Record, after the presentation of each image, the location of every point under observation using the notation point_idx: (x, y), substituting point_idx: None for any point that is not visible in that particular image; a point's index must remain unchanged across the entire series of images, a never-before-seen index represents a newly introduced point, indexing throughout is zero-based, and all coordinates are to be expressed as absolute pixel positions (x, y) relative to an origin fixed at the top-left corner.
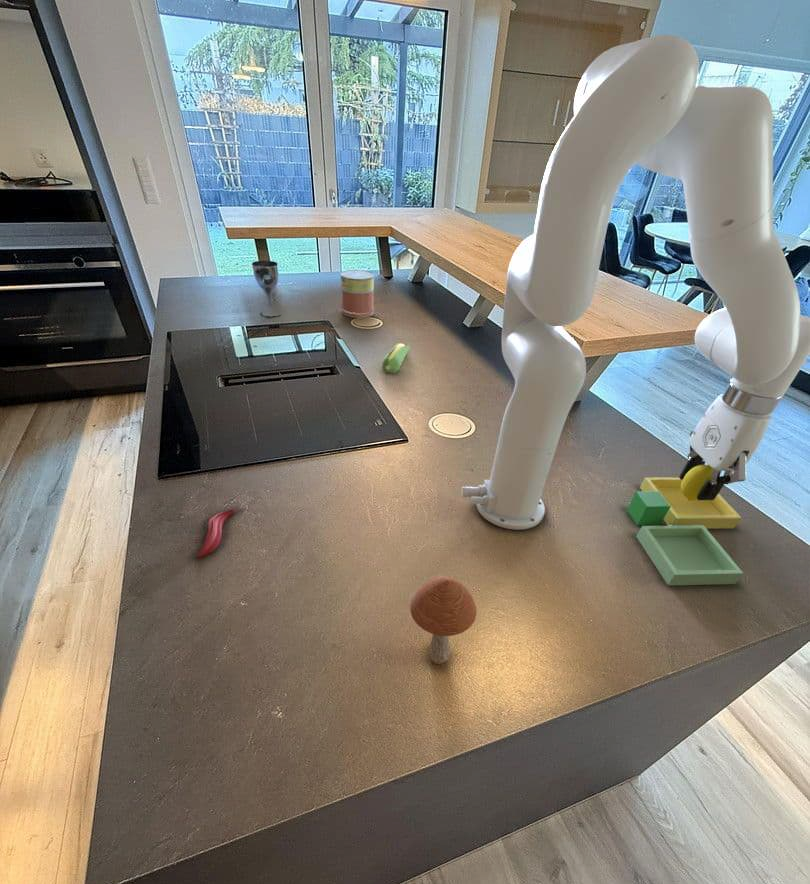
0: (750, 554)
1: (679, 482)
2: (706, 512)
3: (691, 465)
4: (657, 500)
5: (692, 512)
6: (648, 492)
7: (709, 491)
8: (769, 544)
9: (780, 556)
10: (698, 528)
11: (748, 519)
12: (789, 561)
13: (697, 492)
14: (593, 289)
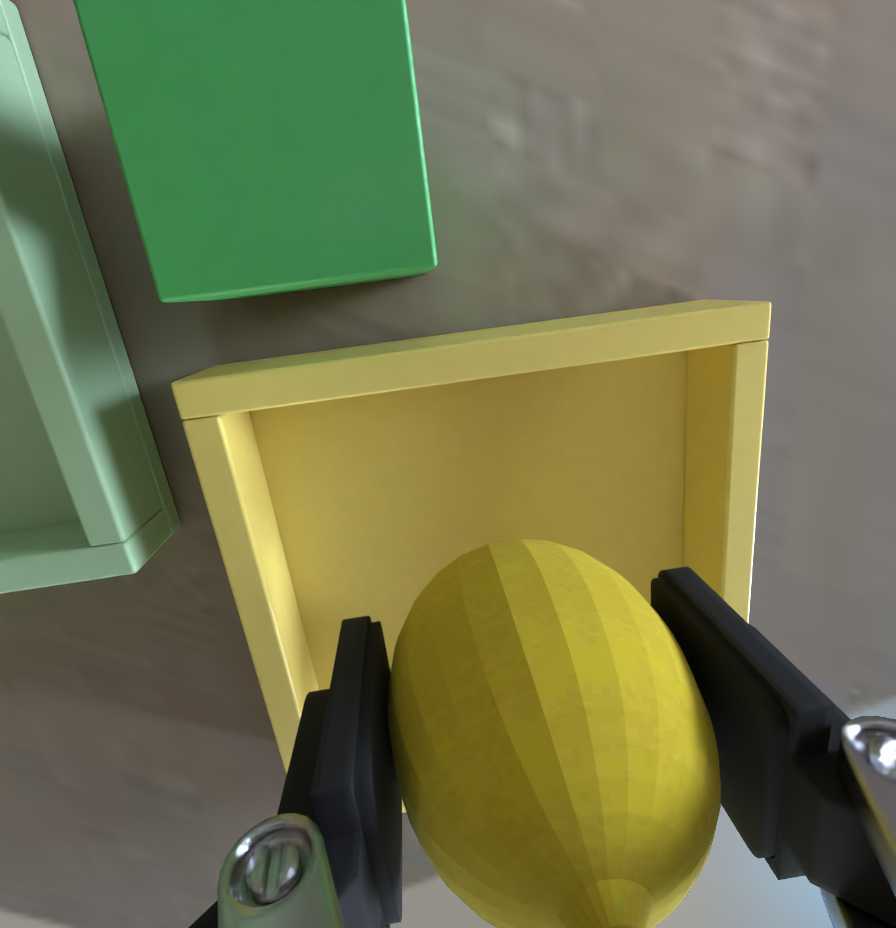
0: (93, 757)
1: None
2: None
3: (749, 714)
4: (243, 173)
5: (410, 575)
6: (390, 108)
7: (306, 742)
8: (216, 862)
9: (127, 876)
10: (81, 521)
11: (415, 839)
12: (98, 898)
13: (401, 638)
14: None
